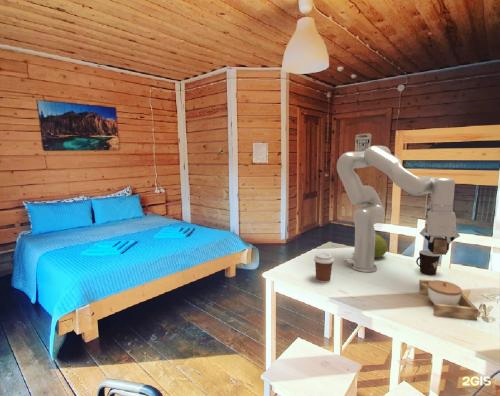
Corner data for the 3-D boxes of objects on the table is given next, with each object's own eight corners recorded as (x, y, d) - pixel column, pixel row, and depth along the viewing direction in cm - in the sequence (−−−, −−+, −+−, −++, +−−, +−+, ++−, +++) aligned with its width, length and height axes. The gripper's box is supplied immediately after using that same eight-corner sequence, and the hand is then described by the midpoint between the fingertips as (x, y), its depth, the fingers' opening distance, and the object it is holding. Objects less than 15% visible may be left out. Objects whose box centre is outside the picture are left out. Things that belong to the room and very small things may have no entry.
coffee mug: (432, 269, 145) (434, 250, 143) (442, 276, 137) (444, 256, 135) (408, 268, 146) (409, 249, 145) (416, 275, 138) (417, 255, 136)
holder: (434, 315, 105) (435, 305, 104) (413, 284, 129) (414, 275, 128) (476, 320, 101) (478, 309, 101) (446, 287, 126) (447, 278, 125)
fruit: (381, 251, 171) (392, 233, 162) (379, 268, 160) (391, 249, 151) (354, 241, 175) (363, 222, 166) (350, 256, 164) (360, 237, 155)
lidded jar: (420, 299, 116) (422, 276, 115) (444, 297, 117) (447, 275, 116) (440, 313, 106) (442, 289, 104) (467, 311, 107) (469, 287, 105)
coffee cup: (309, 278, 137) (309, 253, 135) (323, 274, 141) (324, 250, 139) (322, 285, 129) (323, 260, 127) (337, 281, 133) (338, 256, 131)
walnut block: (433, 254, 118) (434, 239, 117) (429, 250, 123) (431, 236, 122) (446, 254, 117) (447, 240, 116) (442, 251, 122) (443, 237, 121)
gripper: (421, 209, 116) (417, 253, 119) (469, 210, 112) (465, 256, 114) (415, 206, 123) (412, 247, 126) (461, 207, 119) (457, 250, 121)
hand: (437, 251), depth 120 cm, fingers closed on walnut block, 4 cm apart
